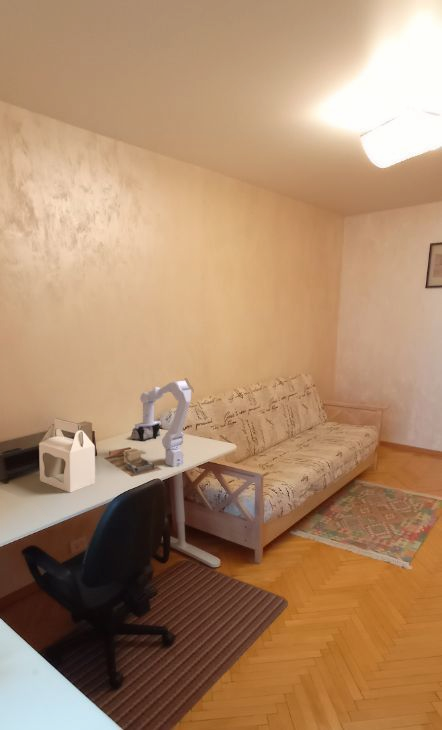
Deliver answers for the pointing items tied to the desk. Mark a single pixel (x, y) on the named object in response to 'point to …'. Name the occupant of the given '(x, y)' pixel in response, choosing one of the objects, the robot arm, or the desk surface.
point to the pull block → (128, 455)
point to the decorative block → (85, 429)
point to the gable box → (67, 457)
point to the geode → (147, 433)
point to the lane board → (132, 469)
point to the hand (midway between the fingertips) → (148, 439)
